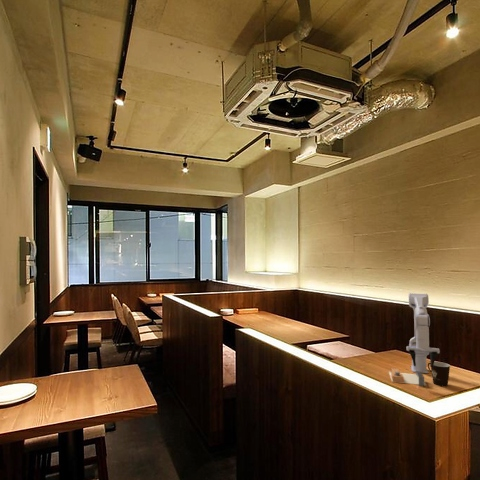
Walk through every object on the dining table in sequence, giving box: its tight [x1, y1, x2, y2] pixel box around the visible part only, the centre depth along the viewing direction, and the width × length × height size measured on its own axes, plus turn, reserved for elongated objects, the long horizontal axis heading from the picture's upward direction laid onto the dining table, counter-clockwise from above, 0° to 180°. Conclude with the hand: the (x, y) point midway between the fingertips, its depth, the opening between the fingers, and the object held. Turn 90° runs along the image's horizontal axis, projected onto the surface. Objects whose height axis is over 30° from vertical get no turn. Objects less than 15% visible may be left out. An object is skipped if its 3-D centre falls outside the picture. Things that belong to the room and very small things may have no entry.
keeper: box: [415, 371, 425, 387], centre depth 174 cm, size 9×2×4 cm, turn 162°
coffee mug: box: [427, 361, 451, 388], centre depth 174 cm, size 12×9×10 cm
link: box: [390, 367, 404, 383], centre depth 182 cm, size 15×5×2 cm, turn 162°
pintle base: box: [388, 371, 427, 386], centre depth 181 cm, size 16×16×4 cm
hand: (423, 366), depth 170 cm, fingers open, 7 cm apart
